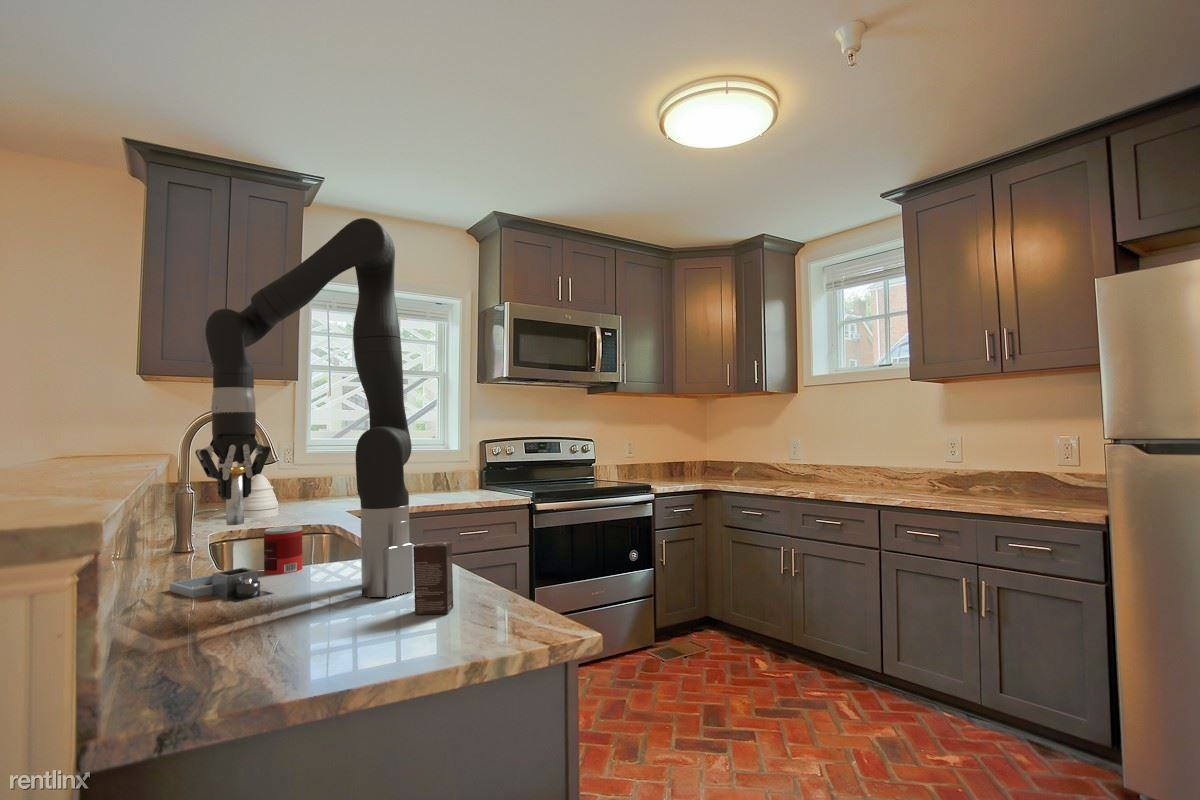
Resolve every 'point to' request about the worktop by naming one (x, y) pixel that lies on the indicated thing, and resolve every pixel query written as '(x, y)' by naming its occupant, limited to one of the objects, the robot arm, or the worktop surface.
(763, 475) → the worktop surface
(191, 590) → the tray
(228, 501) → the lock pin
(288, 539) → the canned food
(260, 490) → the honey pot
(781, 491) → the worktop surface
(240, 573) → the pulley bracket
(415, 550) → the box
